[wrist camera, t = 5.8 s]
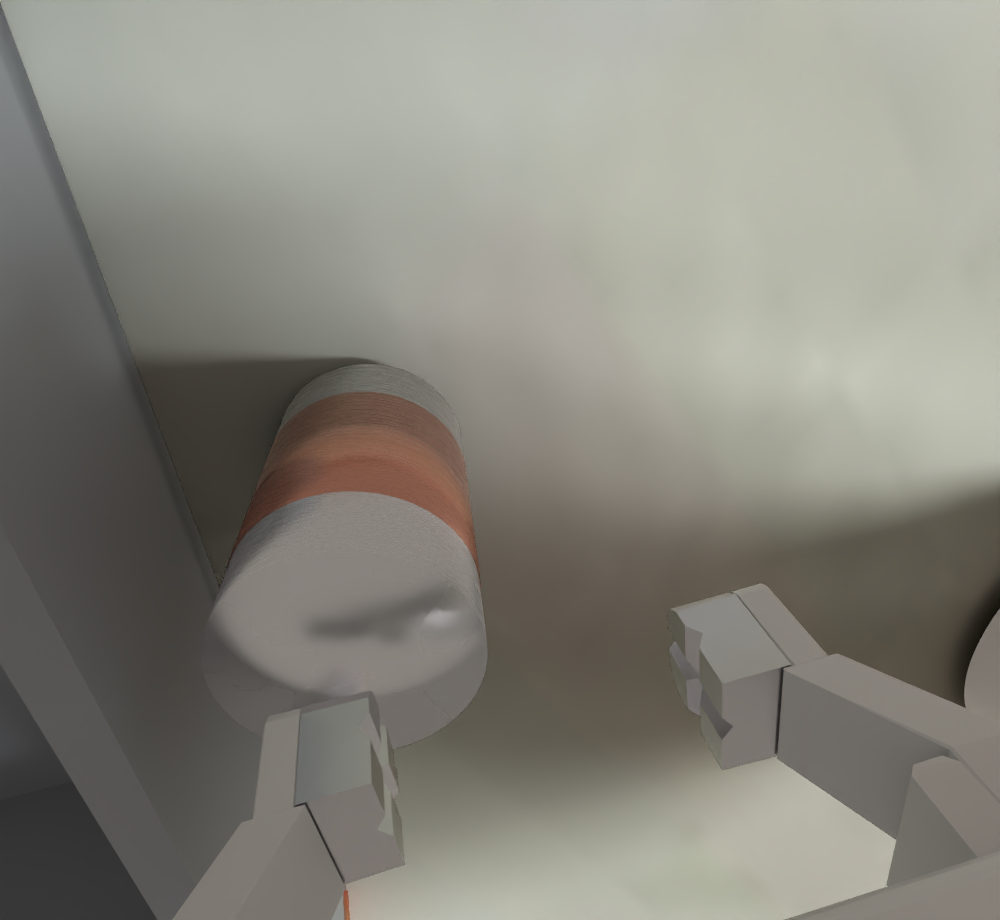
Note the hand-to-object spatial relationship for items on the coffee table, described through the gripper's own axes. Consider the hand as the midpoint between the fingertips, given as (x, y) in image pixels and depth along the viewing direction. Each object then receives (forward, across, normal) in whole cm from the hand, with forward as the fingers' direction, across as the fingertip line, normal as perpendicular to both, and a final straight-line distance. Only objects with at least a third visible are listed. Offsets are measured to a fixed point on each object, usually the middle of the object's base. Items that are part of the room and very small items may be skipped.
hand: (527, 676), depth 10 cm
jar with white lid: (+10, +2, +1) cm, 10 cm away
